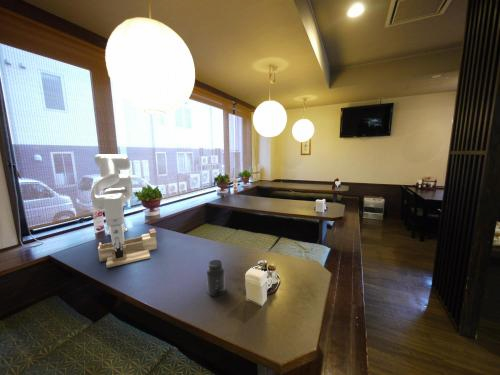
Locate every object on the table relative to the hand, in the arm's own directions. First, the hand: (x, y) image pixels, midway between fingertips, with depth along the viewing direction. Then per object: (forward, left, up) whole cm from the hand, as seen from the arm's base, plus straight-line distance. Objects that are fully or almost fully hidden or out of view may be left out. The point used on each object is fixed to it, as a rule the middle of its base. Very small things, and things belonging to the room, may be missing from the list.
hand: (119, 255), depth 103 cm
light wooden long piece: (-11, +5, -4) cm, 12 cm away
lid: (0, +4, -3) cm, 5 cm away
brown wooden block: (-11, +17, +4) cm, 20 cm away
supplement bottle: (+48, +32, -4) cm, 58 cm away
